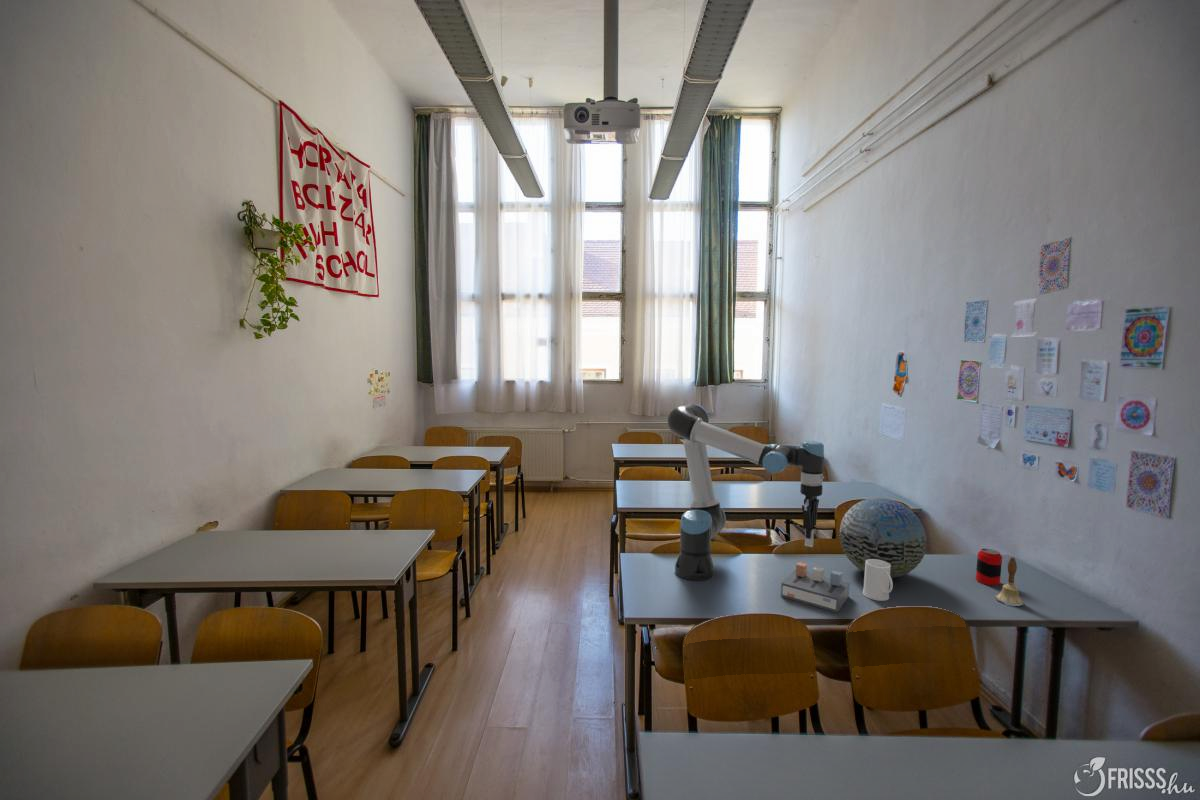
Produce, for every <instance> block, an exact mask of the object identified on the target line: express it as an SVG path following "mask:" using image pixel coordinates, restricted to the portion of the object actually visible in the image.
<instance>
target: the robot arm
mask: <svg viewBox="0 0 1200 800" xmlns="http://www.w3.org/2000/svg"><path fill="white" fill-rule="evenodd" d="M709 417H710V416H709V414H708V411H707V410H706V409H705V407H703V406H702V405H699V404H698V403H697V404H695V403H688V404H684V405H679V406H677V407H675V408H673V409H672V410H671V411H670V412H669V414H668V417H667V426H668V428H669V430H670V431H671V432H672V434H674V435H676V436H678V439H679V441H681V442H682V443H683V447H684V452H685V457H686V458H685V459H686V463H687V470H688V475H689V482H690V487H691V488H690V489H691V492H692V493H691V494H692V500H693V501H692V502H691V503H690V510H687V511H684V513H682V514H681V519H680V536H679V537H680V540H679V544H680V546H679V548H680V549H679V554H678V557H677V559H676V561H675V566H674V572H675V574H676V575H677V576H678V577H680V578H682V579H685V580H688V581H689V580H691V581H706V580H707V581H708V580H711V579H712V578H713V577H714V576H715V566H714V562H713V559H712V555H711V550H712V548H711V547H712V539H713V538H714V537H716V535H718V534H719V533H721V531H722V530H723V529H724V527H725V525H726V521H727V519H726V517H727V516H726V513H725V511H724V509H723V508H721V506H720V501H719V500H718V499H717V498H715V492H714V487H713V481H712V475H711V474H712V473H711V468H710V467H711V466H710V462H709V457H708V450H707V446H710V447H711V448H714V449H718V450H720V451H723V452H725V453H728V454H729V455H733V456H735V457H737V458H739V459H743V460H745V461H749V462H750V463H753V464H755V465H758V466H760V467H762V468H764V470H766V471H767V473H770V474H779V473H781V472H783V471H785V469H786V468H787V467H788V466H791V467H792V466H793V467H801V470H800V493H801V495H804V496H805V497H804V500H803V504H802V505H801V509H802V529H803V530H804V546H805V547H810V548H813V547H814V538H815V537H814V534H815V533H814V532H815V530H817V519H818V518H817V517H818V508H819V502H820V499H819V498H818V497H820V496H822V495H823V485H822V484H823V480H824V479H825V476H824V475H823V474H824V464H825V463H824V462H825V451H824V450H825V445H824V444H823V443H822V442H821V441H815V440H804V441H802V445H790V444H782V443H771V444H769V446H768V445H766V444H763V443H761V442H758V441H755V440H752V439H751V438H748V437H745V436H742V435H739V434H737V433H735V432H731V431H729V430H727V429H723V428H721V427H718V426H716V425H713V424H710V423H709V422H710V418H709Z"/></svg>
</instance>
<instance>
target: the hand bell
mask: <svg viewBox="0 0 1200 800" xmlns="http://www.w3.org/2000/svg"><path fill="white" fill-rule="evenodd" d="M1017 568H1018V565H1017V561H1016V558H1015V557H1012V556H1010V558H1009V560H1008V563H1007V572H1008V579H1007V583H1006V584H1003V585H1002V589H1001V590H1000V592H999V593H998V594H997V595H996V596H995V597H997V598H998V599H999V600H1001V601H1004V602H1007V603H1011V604H1023V603H1024V601H1023V600H1022V598H1021V597H1020V593H1019V588H1018V587H1017V586H1016V585H1015V574H1016V572H1017Z"/></svg>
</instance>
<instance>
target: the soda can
mask: <svg viewBox="0 0 1200 800" xmlns="http://www.w3.org/2000/svg"><path fill="white" fill-rule="evenodd" d="M976 558H977V560H976V570H975V571H976V572H975V580H976V581H977V582H978V583H980V582H981V583H980V584H982V583H983V585H985V584H987V585H986V586H990V585H997V586H999V585H1000V584H1001V575H1002V574H1001V573H1002V565H1003V564H1002V563H1003V556H1002V555H1001V553H1000V551H997V550H995V549H992V548H981V549H980V550H979V551H978V552H977V557H976Z"/></svg>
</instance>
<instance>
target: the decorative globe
mask: <svg viewBox="0 0 1200 800" xmlns="http://www.w3.org/2000/svg"><path fill="white" fill-rule="evenodd" d="M839 541H840V545H841V548H842V551H843V553H844V554H845V556H846V558H847V560H849V562H851V563H852V564H853V566H855V567H856V568H857V569H859V570H860V571H861V572H864V573H865V561H866V560H868V559H878V560H883V561H886V562H888V563H889V564H890V565H891V569H890V576H891V579H893V578H899V577H902V576H906V575H907V574H909V573H910V572H912V571H913V570H914V569H916V568H917V567H918V565H919V564H920V563H921V562H922V560H923V559H924V557H925V553H926V550H927V534H926V530H925V528H924V525H923V523H922V522H921V520H920V518H919V516H917V514H916V513H915V512H913V510H912V509H910V508H909V507H907V506H906V505H904V504H903V503H901V502H899V501H897V500H894V499H889V498H884V497H871V498H867V499H863V500H861V501H859V502H857V503H855V504H854V505H853V506H851V507H850V508H849V509H848V510H847V511H846V512H845V514H844V515H843V517H842V519H841V522H840V526H839Z"/></svg>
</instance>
